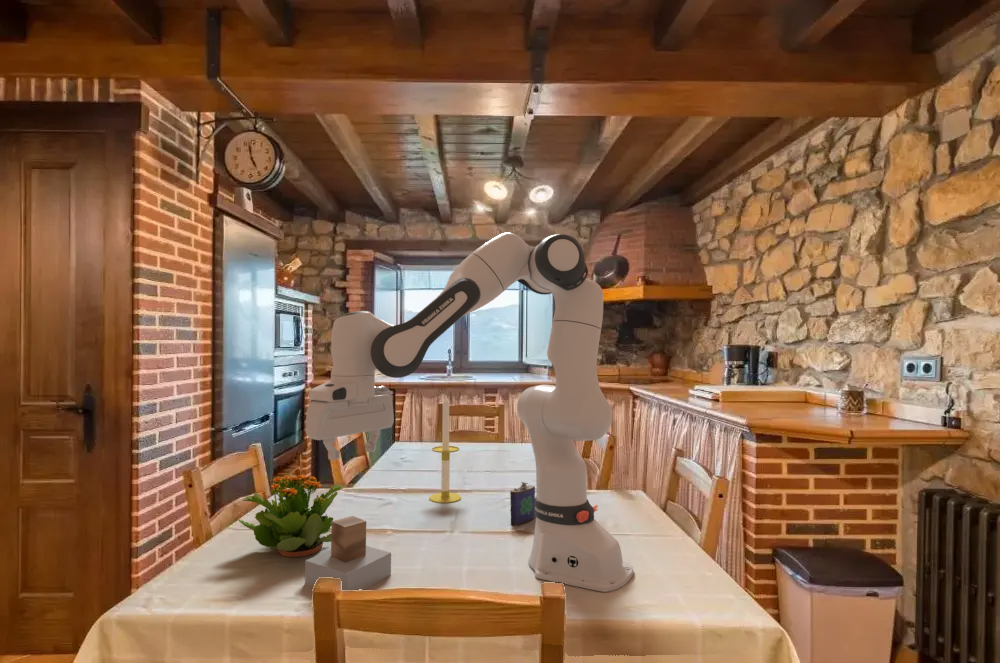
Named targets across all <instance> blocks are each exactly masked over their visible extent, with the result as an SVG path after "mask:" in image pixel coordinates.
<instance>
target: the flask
mask: <svg viewBox="0 0 1000 663" xmlns="http://www.w3.org/2000/svg"><path fill="white" fill-rule="evenodd" d="M528 484H529V483H528V482H525V481H521V485H520V487H518V488H516V487H514V489H512V490H510V492H509V495H510V526H512V527H518V526H522V525H525V524H527V523H529V522H531V521H535V516H534V504H535V498H536V485H532V484H529V485H528Z"/></svg>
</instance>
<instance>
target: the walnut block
mask: <svg viewBox="0 0 1000 663" xmlns="http://www.w3.org/2000/svg"><path fill="white" fill-rule="evenodd" d="M330 530H331V532H330V534H331V542H330V550H331V556H333V557H335V558H336V559H338V560H340V561H342V562H347V561H350V560H353V559H356V558H359V557H362V556H365V555H366V546H367V521H366V520H365V519H362V518H360V517H356V516H354V515H350V516H348V517H347V516H346V517H343V518H340V519H336V520H333V521H332V526H331V527H330Z"/></svg>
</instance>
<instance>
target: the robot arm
mask: <svg viewBox="0 0 1000 663" xmlns="http://www.w3.org/2000/svg"><path fill="white" fill-rule="evenodd" d="M587 266H588V265H587V264H586V259H585V253H584V251H583V248H582V246H581V244H580V242H579V241H578V240H576V239H575V238H574V237H572V236H571V235H568V234H564V233H556V234H552V235H549V236H547V237H545V238H543V239H542V240H541V241H540V242H539V244H537V245H536V246H534V245H530V244H528V243H526V241H525V240H524V239H523V238H522V237H521V236H519V235H517V234H515V233H513V232H507V231H506V232H503V233H500V234H499V235H497V236H495V237H493V238H492V239H490V240H488V241H486V242H485V243H483V244H482V245H481V246H479V247H478V248H476V249H475V250H473V251H472V252H471V253H470V254H469V255H467V257H465V259H464V258H463V260H462V261H461V262H460V264H458V265H457V266H456V268H455V269H454V270H453V272H452V273H451V274H450V275H449V277H448V281H447V282H446V285H445V287H444V289H443V290H442V291H441V292H440V293H439V295H438V296H436V298H434V300H432V301H430V303H428V304H427V305H426V306H425V307H424V308H423V309H422V310H420V311H419V312H418V313H417V314H415V316H413V317H411V318H410V319H409V320H407V321H405V322H403V323H400V324H395V325H394V324H391V323H389V322H387V321H384V320H383V319H381V318H379V317H377V316H376V315H375V314H373V313H372V312H371V311H368V310H361V311H360V310H359V311H351V312H347V313H343V314H340V315H339V316H338V317H337V318H336V319H335V320H334V322H333V325H332V331H331V341H330V342H331V344H330V345H331V346H330V356H331V359H332V369H331V371H330V380H328V381H326V382H324V383H322V384H320V385H318V386H315V387H313V388H310V390H309V391H308V398H309V400H311V402H310V403H309V404H308V405H307V409H306V414H305V415H306V418H305V433H306V435H307V437H308V438H309V439H311V440H315V441H322V444H324V447H325V448H326V450H327V458H328V460H329V461H330V460H331V461H335V460H339V459H340V453H341V452H340V450H339V449H336V447H335V446H334V444H335V443H336V438H339V437H346V436H351V435H357V434H363V433H367V432H368V434H369V435H370V436H369V438H368V442H365V444H364V447H365V448H364V450H365V451H366V452H368V453H371V452H376V450H377V442H378V439H379V438H380V436H381V430H384V429H390V428H392V427H393V425H394V422H395V419H394V418H395V414H394V407H393V401H392V392H391V390H390V389H389V388H388V387H387V386H385V385H381V386H376V384H375V383H376V378H375V377H376V376H375V375H376V370H378V372H380V373H381V374H383V375H384V376H386V377H389V378H397V379H400V378H404V377H407V376H410V375H411V374H413V373H414V372H415V371H416V370H418V369H419V367H420V365H421V364H422V362H423V360H424V358H425V356H426V354H427V351H428V350H429V347H430V346H431V345H432V344H433V343H434V342H435V341H436V340H438V338H439V337H441V336H442V335H443V334H444V333H445V332H447V331H448V329H450V328H451V327H452V326H453V325H454V324H455V323H456V322H458V321H459V320H460V319H461V318H463V317H464V316H465V315H468V314H470V313H472V312H474V311H477V310H479V309H480V308H482V307H484V306H486V305H487V304H489V303H490V302H492V301H494V300H495V299H496V298H498V297H499V296H500V295H501V294H502V293H504V292H505V291H506V290H507V289H508V288H509V287H510V286H512V285H513V284H514V283H516V282H519V283H520V284H522V285H523V286H525V287H526V288H527V289H529V290H530V291H531V292H533V293H535V294H539V295H551V294H552V296H553V298H554V313H553V314H554V315H553V319H552V322H551V329H550V335H549V340H548V347H547V351H546V355H547V359H548V361H549V362H550V363H551V365H552V366H553V370H554V373H555V374H554V375H555V385H554V384H539V385H534V386H529V387H527V388H526V389H525V390H523V391H522V392H521V394H520V396H519V397H518V399H517V404H516V411H517V415H518V417H519V420H520V421H521V422H522V423H523V425H524V427H525V428H526V431H527V434H528V436H529V440H530V443H531V446H532V447H531V448H532V450H533V454H534V460H535V470H536V471H535V474H536V476H535V477H536V484H535V488H536V496H535V504H534V516H535V519H534V521H535V527H534V536H533V543H532V547H531V551H530V554H529V558H528V565H529V567H530V568H532V570H533V571H534V576H535V578H537V579H539V580H544V581H549V582H553V583H558V582H563V583H566V584H565V585H569V586H573V587H578V588H584V589H587V590H593V591H598V592H602V593H607V592H611V591H614V590H617V589H619V588H621V587H623V586H625V585H626V584H627V583H629V581H630V580H631V579H632V577H633V576H634V568H633V565H632V564H631V563H628V562H626V561H623V555H622V549H621V545H620V543H619V541H618V540H617V539H616V538H615V537H614V536H613V535H612V534H611V533H609V531H608V530H606V528H604V526H603V525H602V524H600V522H598V521H597V519H595V513H596V512H597V511H598V504H596V505H593V506H592V505H591V504H590V502H589V500H588V495H587V494H588V493H587V492H588V485H587V484H588V483H587V482H588V479H587V478H588V468H587V464H586V461H585V460H584V458H583V457H582V455H580V452H578V449H577V447H576V444H575V441H577V442H585V441H587V442H588V441H596V440H600V439H602V438H603V437H604V436H606V434H607V433H608V431H609V430H610V427H611V424H612V421H613V411H612V407H611V404H610V403H609V400H607V398H606V397H605V395H604V393H603V392H602V389H601V386H600V383H599V382H600V381H599V376H598V368H597V364H598V362H597V361H598V352H599V345H600V339H601V333H602V326H603V325H602V324H603V317H604V292H603V289H602V287H601V285H599V283H597V282H596V281H594V280H592V279H589V278H587V277H588V275H589V269H588V267H587ZM563 583H562V584H563Z"/></svg>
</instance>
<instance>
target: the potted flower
mask: <svg viewBox="0 0 1000 663" xmlns="http://www.w3.org/2000/svg"><path fill="white" fill-rule="evenodd" d="M272 479H273V483H272V485H270V487H271V492H270V493H271V494H272V495H274V496H273V497H274V499H271V502H270V500H268V499H267V498H264V499H263V497H262V496H261V495H260V494H259V493H257V492H256V493H254V494H253V495H251V496H249V495H247V496H245V498H244V499H243V500H242V501H243V502H252V503H256V504H258V505H261V506H263V507H264V508H265V509H264V510H262V509H261V511H258V512H256V513H255V516H254V518H255V520H256V521H257V522H258V523H259V524H257V525H255V524H254V523H249V522H248V521H244V520H243V519H239V518H237V521H238V522H239V523H240V524H242V525H243V526H244V527H246V528H247V529H249V530H252V531H253V535H254V539H255V540H256V541H257V542H258V544H259V545H261V546H263V547H266V548H269V549H270V548H271V549H275V550H278V553H279V554H280V555H281V556H283V557H285V558H298V557H299V558H302V557H306V556H307V557H308V556H311V555H314V554H316V553H318V552H319V551H320V550H321V549H322V548H323V544H324V543H331V533H328V532H329V531H330V530H331V527H332V521H334V517H332V516H329V515H328V513H326V511H327V509H328V508H329V507H330V505H331V504H333V501H334V500H335V498H336V497H337V495H338V491H340V490H343V489H344V487H345V486H344V485H342V484H338V483H336V484H335V485H334V486H333V485H332V486H330V488H329V489H328V491H327V492H326V493H322V494H321V493H320V496H319V494H317V495H316V498H314V499H313V501H312V503H313V504H312V506H310V504H309V503H310V498H311V495H312V494H314V493H315V492H316V491H317V489H320V488H322V484H321V482H320V481H318V479H317V478H316V477H315V476H311V475H302V474H299V475H297V477H294V476H288V475H284V476H282V477H280V476H277V477H274V478H272ZM306 490H307V491H306ZM276 496H278V498H277V497H276ZM277 500H278V501H279V502H278V501H277ZM277 502H278V503H277ZM325 513H326V514H325ZM324 514H325V515H324ZM327 533H328V534H327ZM323 534H327V535H326V536H325V535H324V536H322V535H323ZM320 536H321V537H320Z"/></svg>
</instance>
